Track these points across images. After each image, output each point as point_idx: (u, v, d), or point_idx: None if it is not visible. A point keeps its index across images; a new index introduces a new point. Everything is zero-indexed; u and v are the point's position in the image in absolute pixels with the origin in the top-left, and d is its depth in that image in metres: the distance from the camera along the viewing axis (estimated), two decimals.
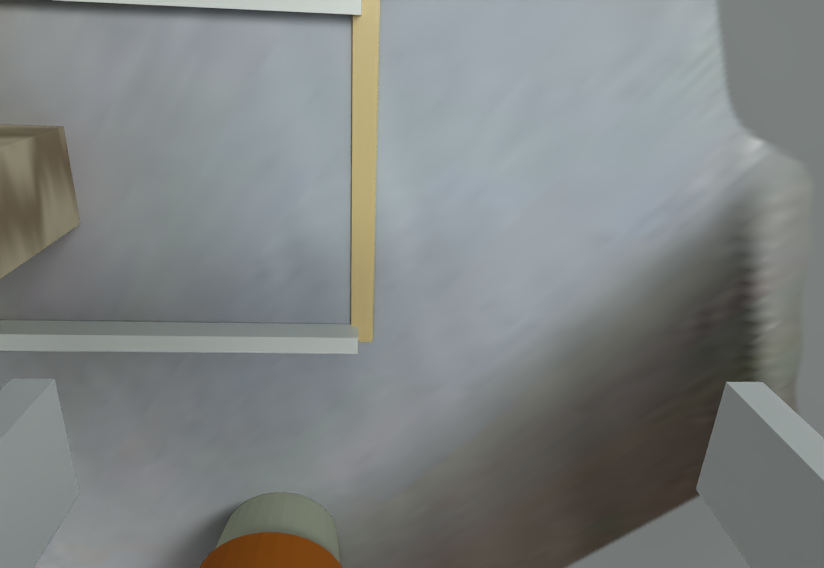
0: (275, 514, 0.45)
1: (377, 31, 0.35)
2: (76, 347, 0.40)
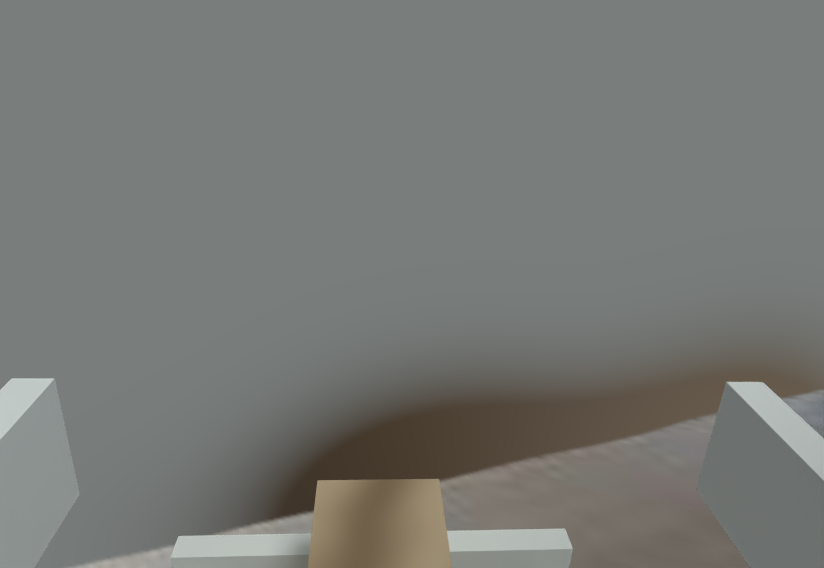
0: None
1: None
2: None
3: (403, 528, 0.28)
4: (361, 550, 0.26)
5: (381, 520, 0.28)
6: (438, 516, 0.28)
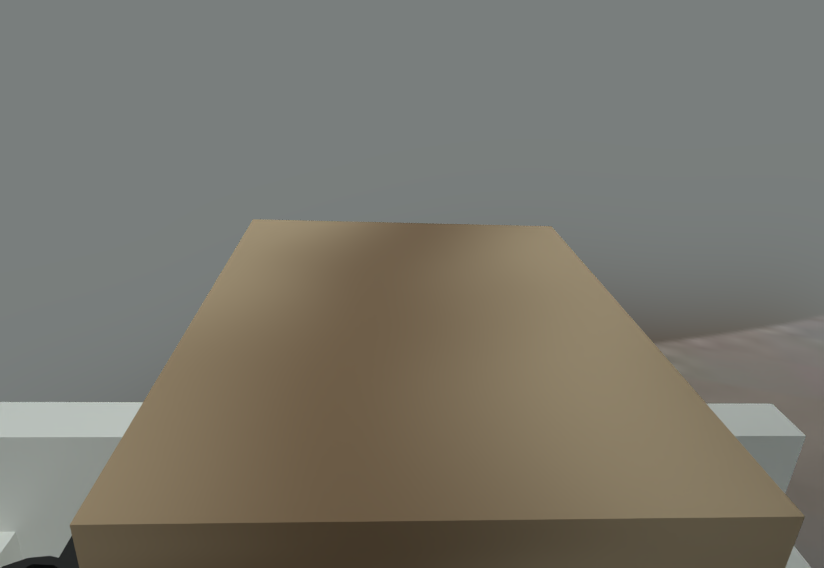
0: None
1: None
2: None
3: (484, 287, 0.09)
4: (361, 321, 0.08)
5: (418, 273, 0.10)
6: (575, 272, 0.10)
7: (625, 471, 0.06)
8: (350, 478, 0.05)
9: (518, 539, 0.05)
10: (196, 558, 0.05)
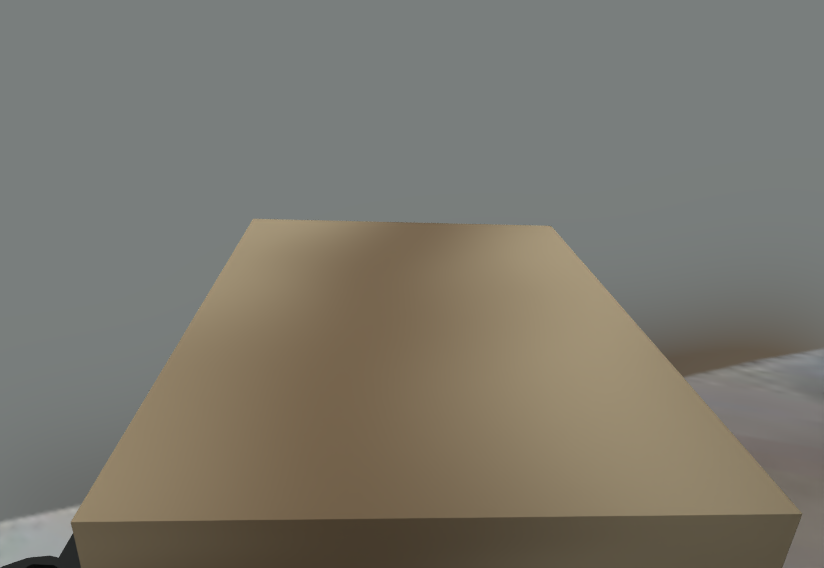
0: None
1: None
2: None
3: (483, 286, 0.09)
4: (361, 320, 0.08)
5: (418, 273, 0.10)
6: (574, 271, 0.10)
7: (623, 468, 0.06)
8: (350, 475, 0.05)
9: (517, 536, 0.05)
10: (198, 554, 0.05)
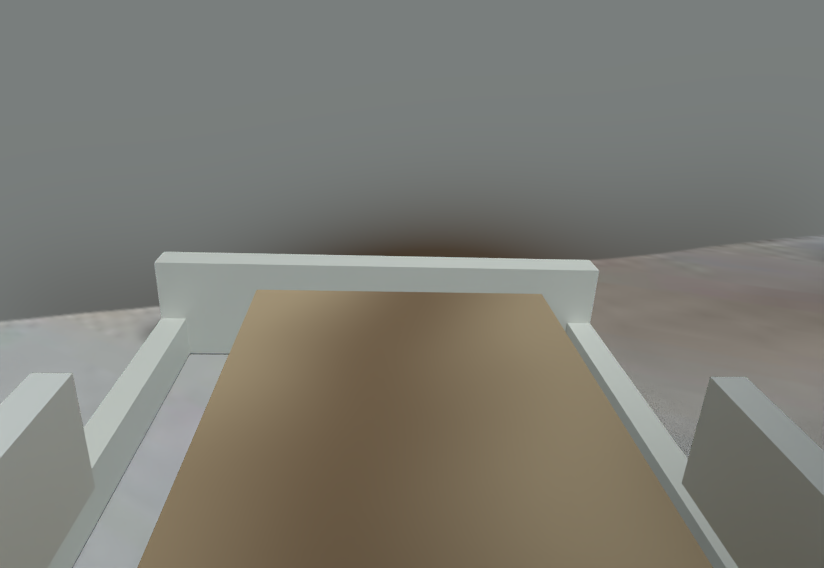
0: None
1: None
2: (99, 417, 0.23)
3: (475, 371, 0.10)
4: (360, 415, 0.09)
5: (414, 356, 0.10)
6: (562, 351, 0.11)
7: None
8: None
9: None
10: None
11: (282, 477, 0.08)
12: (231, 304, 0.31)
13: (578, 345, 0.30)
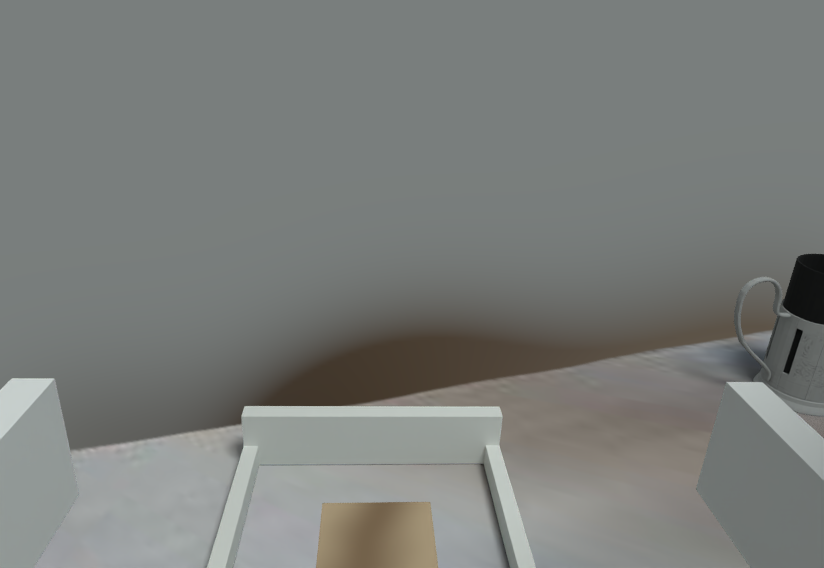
0: None
1: None
2: (225, 519, 0.44)
3: (398, 547, 0.31)
4: (361, 567, 0.30)
5: (378, 540, 0.32)
6: (429, 536, 0.32)
7: None
8: None
9: None
10: None
11: None
12: (285, 438, 0.52)
13: (489, 462, 0.52)
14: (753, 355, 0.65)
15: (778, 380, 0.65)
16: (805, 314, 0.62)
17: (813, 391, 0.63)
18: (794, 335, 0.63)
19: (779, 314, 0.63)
